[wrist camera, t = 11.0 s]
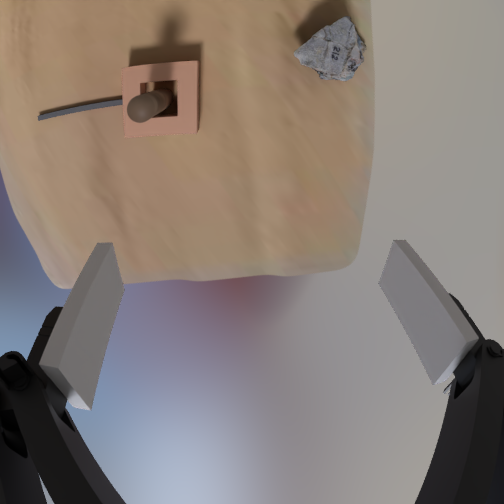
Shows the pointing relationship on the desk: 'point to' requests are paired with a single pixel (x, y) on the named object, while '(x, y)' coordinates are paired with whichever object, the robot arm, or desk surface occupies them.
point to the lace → (80, 109)
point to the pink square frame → (187, 98)
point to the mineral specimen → (333, 51)
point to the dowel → (149, 105)
